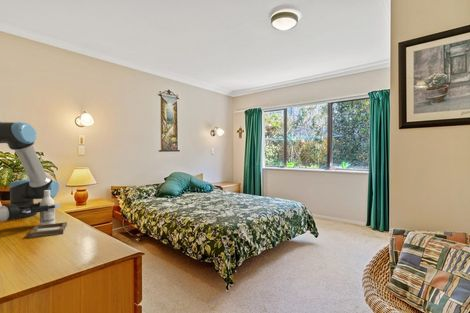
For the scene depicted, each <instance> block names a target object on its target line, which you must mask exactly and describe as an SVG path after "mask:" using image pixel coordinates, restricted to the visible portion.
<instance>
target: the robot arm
mask: <svg viewBox="0 0 470 313" xmlns="http://www.w3.org/2000/svg"><path fill="white" fill-rule="evenodd" d="M36 135H37V132H36V130H35V128H34V126H32V125H31V124H29V123H27V122H20V121H16V122H15V121H14V122H11V121H10V122H9V121H8V122H7V121H5V122H1V121H0V144H7V146H8V148H9V149H11V150H13V151H14V152H15V154H16V156H17V158H18V159H19V161H20V163H21V165H22V167H23V169H24V171H25V173H26V175H27V177H28V179H21V180H20V179H19V180H15V181H11V182H10V183H9V204H8V205H6V206H5V205H0V222H6V221H12V220H16V219H20V218H28V217H32V216H35V215H37V214H38V213H40V212H44V211H47V212H48V210H50V209H55V210H56V209H61V208H62V203H61V202H57V203H55V204H50V205H46V206H40V202H41V201H40V202H39V201H38V202H36V203H35V201H34V200H42V199H43V198H44V190H50V196H51V198H52V199H54V198H55V197H56V196H57V195H58V193H59V189H60V184H59V182H58V181H57V180H52V177H51V176H50V175H47V174H46V172H45V169H44V167H43V165H42V163H41V160H40V158H39V156H38V154H37V151H36V150H35V147H34V144H35V141H36V140H37V136H36Z"/></svg>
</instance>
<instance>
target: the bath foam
mask: <svg viewBox="0 0 470 313" xmlns="http://www.w3.org/2000/svg"><path fill="white" fill-rule="evenodd" d="M50 204H56V203H55V200H54V198H51V196H50V190H44V198H43V199H40V206H46V205H50ZM55 223H56V209H50V210H48V212H47V211H44V212H39V225H46V224H55Z"/></svg>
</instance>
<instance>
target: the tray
mask: <svg viewBox="0 0 470 313" xmlns="http://www.w3.org/2000/svg"><path fill="white" fill-rule="evenodd" d="M67 227H68V222H66V221H65V222H58V223H56V222H55V224H46V225H40V224H39V225H35V226H34V227H33V228H32V229H31V230H30V231H29V232H28V239H34V238H43V237H50V236H57V235H63V234H65V232H66V229H67Z"/></svg>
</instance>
